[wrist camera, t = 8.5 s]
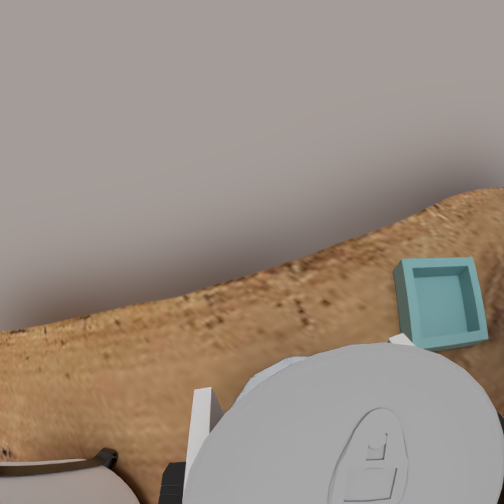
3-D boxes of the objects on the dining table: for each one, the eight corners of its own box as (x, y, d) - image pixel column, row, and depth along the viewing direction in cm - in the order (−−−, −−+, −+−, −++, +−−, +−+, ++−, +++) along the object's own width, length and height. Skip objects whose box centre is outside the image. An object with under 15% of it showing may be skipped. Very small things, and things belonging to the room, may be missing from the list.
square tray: (461, 268, 29) (472, 256, 27) (473, 345, 25) (488, 338, 22) (393, 271, 30) (401, 258, 28) (402, 355, 26) (413, 349, 24)
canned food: (373, 365, 15) (480, 301, 6) (393, 491, 12) (501, 561, 2) (237, 392, 16) (155, 369, 6) (257, 519, 12) (211, 636, 2)
